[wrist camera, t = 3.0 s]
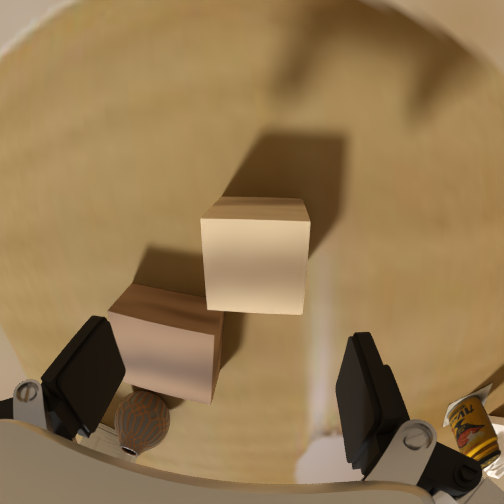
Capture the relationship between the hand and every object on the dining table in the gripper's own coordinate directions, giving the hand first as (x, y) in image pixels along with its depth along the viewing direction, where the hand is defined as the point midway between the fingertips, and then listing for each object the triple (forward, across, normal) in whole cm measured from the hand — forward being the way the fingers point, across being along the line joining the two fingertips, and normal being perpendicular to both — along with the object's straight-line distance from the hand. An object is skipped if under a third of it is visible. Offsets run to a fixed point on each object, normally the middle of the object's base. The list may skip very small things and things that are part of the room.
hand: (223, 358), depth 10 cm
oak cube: (+13, -1, 0) cm, 13 cm away
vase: (+14, +13, +23) cm, 30 cm away
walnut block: (+14, +7, +10) cm, 18 cm away
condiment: (+13, -34, +26) cm, 44 cm away
